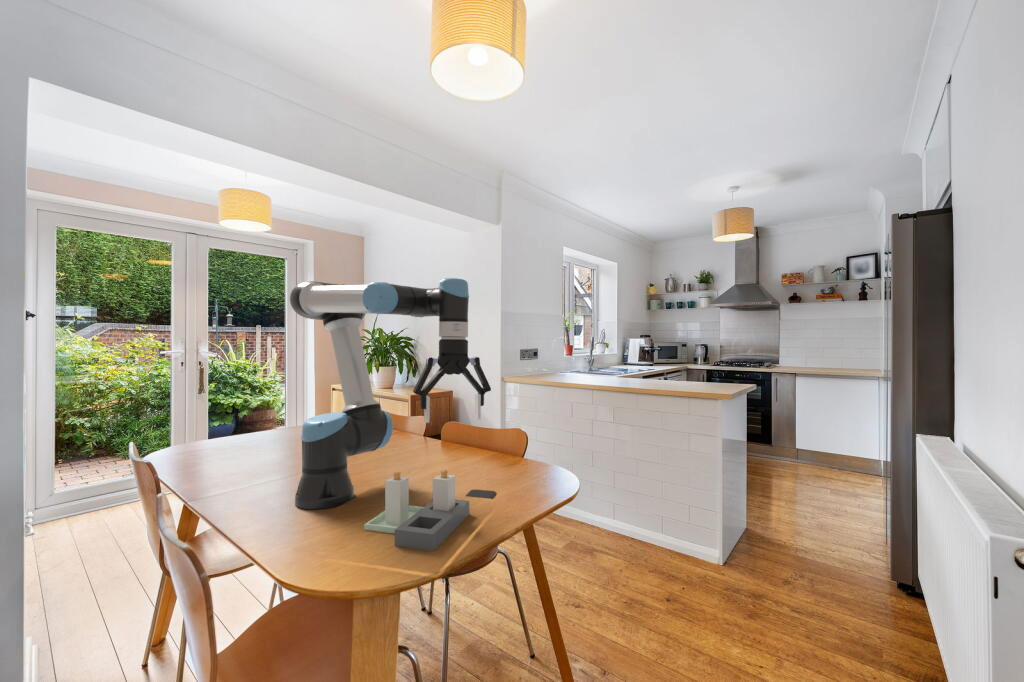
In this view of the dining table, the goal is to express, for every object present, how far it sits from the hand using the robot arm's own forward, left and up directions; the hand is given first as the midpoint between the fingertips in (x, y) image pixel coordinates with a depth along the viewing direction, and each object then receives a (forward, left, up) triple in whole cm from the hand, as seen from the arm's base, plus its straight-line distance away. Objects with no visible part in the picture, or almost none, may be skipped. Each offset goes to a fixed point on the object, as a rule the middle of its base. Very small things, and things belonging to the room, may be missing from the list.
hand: (452, 420), depth 114 cm
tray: (-10, -11, -23) cm, 28 cm away
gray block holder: (+1, -13, -23) cm, 27 cm away
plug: (-10, -11, -23) cm, 27 cm away
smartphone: (+3, +7, -24) cm, 25 cm away
